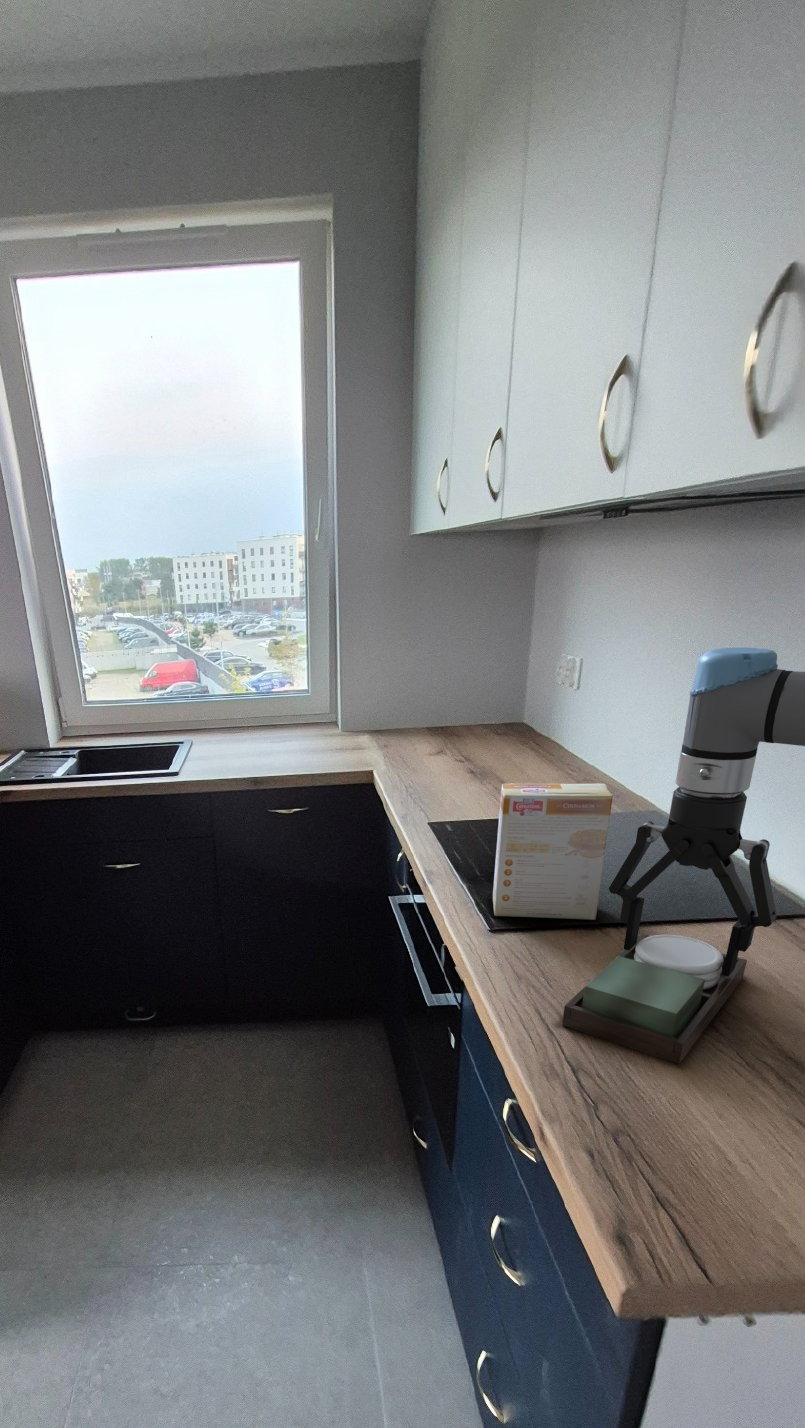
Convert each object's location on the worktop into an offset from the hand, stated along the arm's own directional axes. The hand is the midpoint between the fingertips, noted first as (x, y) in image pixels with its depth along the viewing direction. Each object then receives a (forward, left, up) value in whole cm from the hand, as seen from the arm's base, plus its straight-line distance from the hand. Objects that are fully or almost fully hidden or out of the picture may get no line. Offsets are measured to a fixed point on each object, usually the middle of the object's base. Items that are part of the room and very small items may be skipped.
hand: (677, 958), depth 102 cm
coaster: (0, 0, -2) cm, 2 cm away
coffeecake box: (+23, -12, -4) cm, 26 cm away
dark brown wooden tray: (0, +6, -3) cm, 7 cm away
